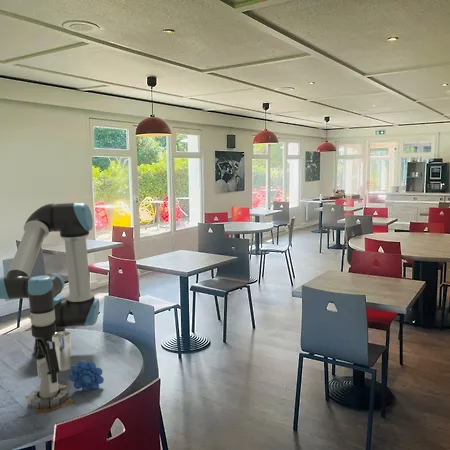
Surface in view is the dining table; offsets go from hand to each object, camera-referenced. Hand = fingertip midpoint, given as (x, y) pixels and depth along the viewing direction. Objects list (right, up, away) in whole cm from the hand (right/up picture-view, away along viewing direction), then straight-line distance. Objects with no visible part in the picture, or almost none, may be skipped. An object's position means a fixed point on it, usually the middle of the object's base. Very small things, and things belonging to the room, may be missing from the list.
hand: (48, 383), depth 155 cm
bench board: (0, -7, +1) cm, 7 cm away
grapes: (+11, -6, +7) cm, 15 cm away
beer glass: (-4, -4, +26) cm, 26 cm away
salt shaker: (0, -6, +1) cm, 6 cm away
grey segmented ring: (0, -6, +1) cm, 6 cm away
